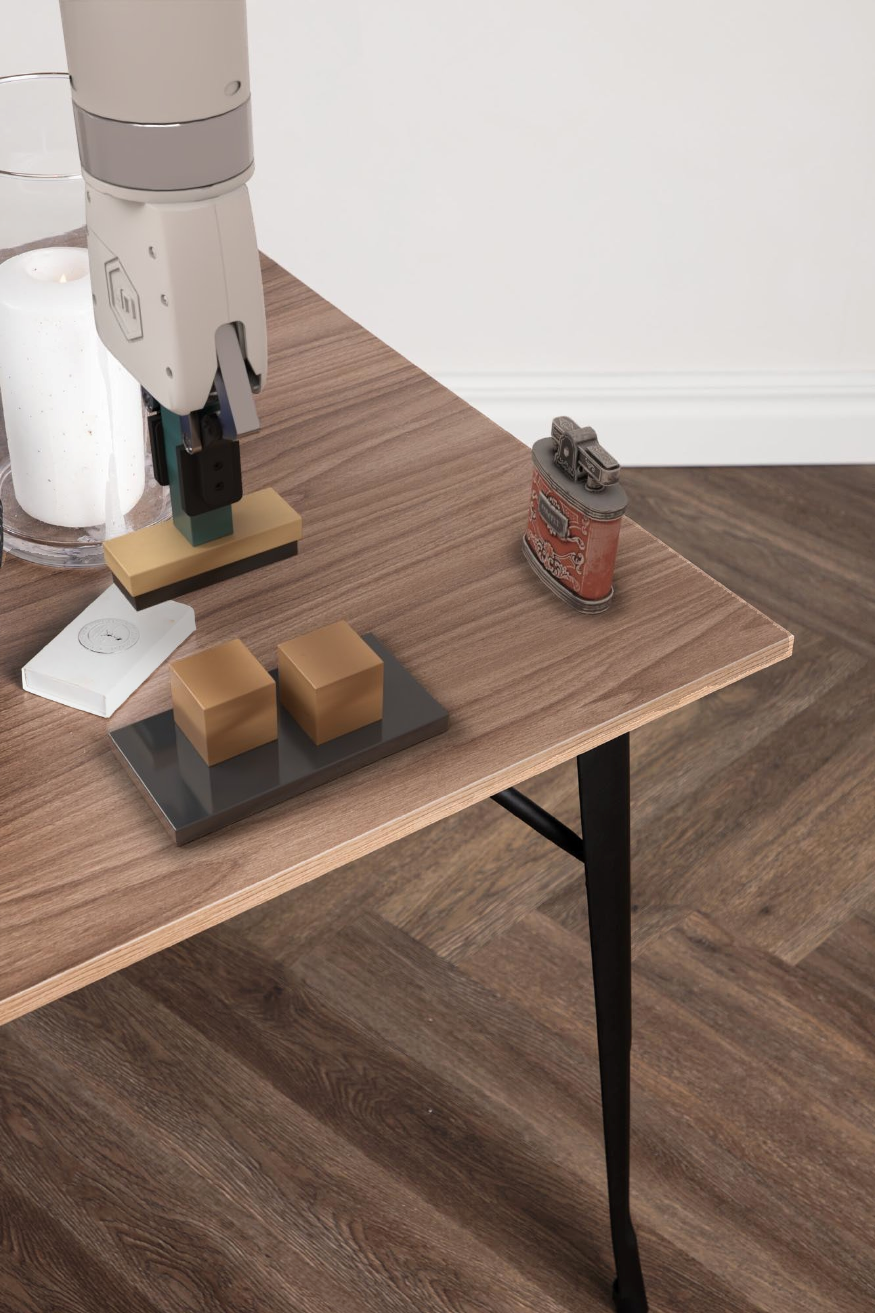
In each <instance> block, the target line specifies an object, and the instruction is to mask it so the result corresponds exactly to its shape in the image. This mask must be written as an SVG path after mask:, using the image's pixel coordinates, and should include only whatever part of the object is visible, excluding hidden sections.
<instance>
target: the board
mask: <svg viewBox="0 0 875 1313" xmlns="http://www.w3.org/2000/svg"><path fill="white" fill-rule="evenodd" d="M359 636H360V637H361V639H362V640H363V641H364V642H365V643H366V644H367V645H368V646H369V647H370V648H371V649H372V650H373V651H374V652H375V653H376V654H377V656H378V657H379V658H380V659H381V660H382V661H383V662H384V670H383V709H382V719H380V720H378V721H376V722H373V723H371V724H368V725H366V726H364V727H361V728H359V729H356V730H354V731H352V732H349V733H347V734H345V735H342V736H340V737H337V738H335V739H333V740H330V741H328V742H325V743H323V744H321V745H318V746H317V745H316V744H315V743H314V742H313V741H312V740H311V738H310V737H309V736H308V735H307V734H306V732H305V731H304V730H303V729H302V728H301V726H300V725H299V724H298V723H297V722H296V720H295V719H294V718H293V717H292V716H291V714H290V713H289V712H288V711H287V710H286V708H285V707H284V706H283V705H282V704H281V702H280V701H279V675H278V666H277V667H275V668H272V669H270V670H266V671H267V672H268V673H269V675H270V676H271V677H272V678H273V679H274V681H275V682H276V703H277V727H278V739H276V740H273V741H271V742H269V743H266V744H264V745H261V746H259V747H256V748H254V749H252V750H249V751H247V752H244V753H242V754H239V755H237V756H234V757H232V758H230V759H227V760H225V761H222V762H220V763H217V764H215V765H213V766H210V767H209V766H208V765H207V764H206V762H205V761H204V760H203V758H202V757H201V756H200V754H199V753H198V751H197V750H196V749H195V747H194V746H193V745H192V743H191V742H190V741H189V739H188V738H187V737H186V735H185V734H184V733H183V731H182V730H181V729H180V727H179V726H178V725H177V723H176V722H175V720H174V711H173V707H171V708H168V709H166V710H163V711H161V712H158V713H156V714H153V715H150V716H148V717H145V718H143V719H139V720H138V721H135V722H132V723H129V724H127V725H124V726H121V727H119V728H116V729H114V730H112V731H109V732H108V733H107V738H108V745H109V749H110V751H111V752H112V754H113V755H114V756H115V758H116V760H117V761H118V762H119V764H120V765H121V767H122V769H123V770H124V771H125V773H126V774H127V776H128V777H129V778H130V780H131V781H132V783H133V784H134V786H135V788H136V789H137V790H138V792H139V794H140V795H141V796H142V797H143V799H144V800H145V802H146V803H147V804H148V806H149V808H150V809H151V811H152V812H153V813H154V815H155V816H156V818H157V820H158V821H159V822H160V824H161V825H162V827H163V829H165V831H166V833H167V835H169V838H170V839H171V840H172V841H173V843H174V845H176V847H180V846H183V845H185V844H188V843H191V842H193V841H194V840H197V839H199V838H201V837H204V836H206V835H208V834H211V833H213V832H215V831H217V830H220V829H222V828H224V827H227V826H229V825H231V824H233V823H237V822H238V821H241V820H244V819H245V818H247V817H250V816H252V815H256V814H257V813H259V812H262V811H264V810H266V809H268V808H271V807H274V806H276V805H278V804H280V803H282V802H284V801H287V800H289V799H291V798H294V797H296V796H299V795H301V794H303V793H305V792H308V791H310V790H312V789H314V788H316V787H320V786H321V785H324V784H326V783H328V782H330V781H333V780H335V779H337V778H340V777H342V776H345V775H346V774H347V775H348V774H349V773H351V772H354V771H356V770H359V769H361V768H363V767H365V766H368V765H370V764H373V763H374V762H376V761H379V760H382V759H384V758H386V757H389V756H391V755H393V754H396V753H398V752H400V751H403V750H404V749H407V748H410V747H411V746H414V745H416V744H419V743H420V742H423V741H425V740H428V739H430V738H432V737H434V736H437V735H439V734H441V733H443V732H446V731H448V730H449V727H450V713H449V711H447V710H446V709H445V707H444V706H443V705H442V704H440V702H439V701H438V700H437V699H436V698H435V697H434V696H433V694H431V693H430V692H429V691H428V690H427V688H426V687H425V686H424V685H423V684H421V682H419V680H418V679H417V678H416V677H415V676H414V675H413V674H412V673H411V672H410V671H409V670H408V668H406V666H404V665H403V663H402V662H401V661H399V659H398V658H397V657H396V656H395V655H394V654H393V653H392V652H391V651H390V650H389V648H387V646H386V645H384V644H383V642H382V641H381V640H380V639H379V638H378V637H377V636H376V635H375V634H374V633H373V632H372V631H368V632H366V633H363V634H361V635H359Z"/></svg>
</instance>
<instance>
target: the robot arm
mask: <svg viewBox="0 0 875 1313" xmlns="http://www.w3.org/2000/svg"><path fill="white" fill-rule="evenodd" d="M58 3H59V11H60V19H61V28H62V34H63V42H64V48H65V49H64V50H65V56H66V64H67V71H68V80H69V87H70V94H71V95H70V96H71V105H72V113H73V118H74V119H73V120H74V128H75V135H76V142H77V150H78V157H79V161H80V162H79V163H80V164H79V165H80V172H81V177H82V179H83V180H84V209H85V210H84V212H85V214H84V215H85V229H86V243H87V244H86V245H87V256H88V266H89V279H90V289H91V299H92V310H93V318H94V325H95V330H96V333H97V335H98V338H99V339H100V341H101V343H102V345H103V346H104V347H105V348H106V350H107V351H108V352H109V354H111V355H112V357H113V358H115V359H116V361H117V362H118V363H119V364H120V365H121V366H122V367H123V368H124V369H125V370H126V371H127V373H129V374H130V376H132V377H133V378H134V379H135V380H136V381H137V382H138V384H139V385H140V390H141V397H142V398H141V399H142V403H143V405H144V407H145V409H146V411H147V412H148V414H151V415H149V416H146V417H147V418H146V419H147V426H148V427H147V428H148V429H147V430H148V435H149V445H150V453H151V454H150V455H151V462H152V471H153V478H154V480H155V481H156V482H157V484H158V485H160V486H161V487H169V479H168V470H167V461H166V452H165V442H164V433H163V424H162V415H161V406H160V404H162V405H163V406H164V407H165V408H167V409H168V410H170V411H171V412H173V413H175V414H178V415H179V419H180V427H181V435H182V442H183V444H181V445H178V446H175V448H176V457H177V467H178V477H179V486H180V496H181V506H182V510H183V511H184V512H185V513H186V514H187V515H188V516H189V517H194V516H197V515H200V514H203V513H206V512H209V511H212V510H215V509H218V508H221V507H224V506H227V505H230V504H234V503H236V502H239V501H240V500H241V498H242V496H244V489H243V488H244V487H243V477H242V476H243V474H242V461H241V448H240V447H241V446H240V441H241V440H243V439H245V438H248V437H252V436H255V435H258V434H260V433H261V422H260V418H259V415H258V411H257V407H256V403H255V399H254V395H258V394H260V393H262V391H263V390H264V388H265V386H266V383H267V380H268V366H269V365H268V362H269V360H268V356H269V355H268V354H269V353H268V352H269V351H268V332H267V331H268V330H267V318H266V307H265V306H266V305H265V294H264V287H263V286H264V285H263V278H262V269H261V261H260V254H259V253H260V252H259V246H258V239H257V231H256V227H255V226H256V225H255V220H254V214H253V209H252V203H251V198H250V192H249V187H248V185H247V184H246V183H248V182H249V181H250V180H251V178H252V177H253V176H254V174H255V171H256V170H255V169H256V164H255V148H254V147H255V146H254V145H255V143H254V128H253V126H254V125H253V109H252V108H253V107H252V106H253V105H252V92H251V81H250V80H251V79H250V78H251V77H250V59H249V37H248V36H249V34H248V16H247V0H58ZM253 394H254V395H253ZM218 401H219V403H220V408H221V410H220V411H216V412H213V413H210V414H206V415H204V416H203V418H202V419H201V420H200V421H199V412H198V409H202V408H203V407H204V405H208V404H211V403H214V402H218ZM152 413H155V414H152Z"/></svg>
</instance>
